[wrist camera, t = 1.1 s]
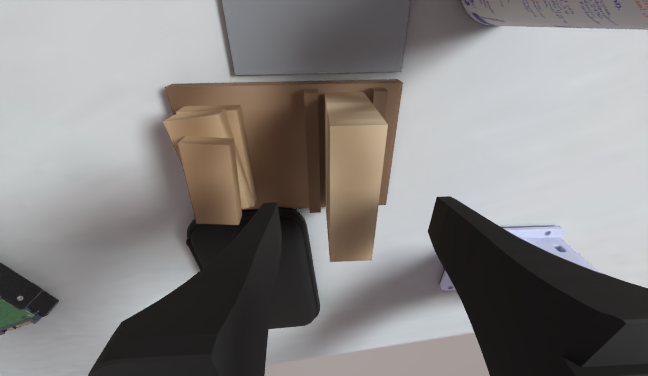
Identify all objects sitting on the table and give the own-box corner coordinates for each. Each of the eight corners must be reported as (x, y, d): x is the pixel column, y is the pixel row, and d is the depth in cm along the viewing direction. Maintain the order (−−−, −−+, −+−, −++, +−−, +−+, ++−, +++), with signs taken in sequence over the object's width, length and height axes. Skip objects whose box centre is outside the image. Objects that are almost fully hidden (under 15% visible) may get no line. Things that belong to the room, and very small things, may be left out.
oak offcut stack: (240, 102, 16) (225, 120, 13) (257, 197, 20) (248, 227, 17) (180, 103, 16) (151, 121, 13) (208, 198, 20) (190, 229, 17)
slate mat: (416, -60, 13) (418, -62, 13) (399, 70, 16) (401, 71, 16) (213, -59, 13) (211, -61, 13) (236, 73, 16) (235, 75, 16)
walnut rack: (398, 79, 17) (407, 85, 15) (382, 197, 21) (389, 212, 20) (172, 83, 16) (156, 91, 15) (208, 203, 21) (199, 218, 19)
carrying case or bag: (174, 207, 22) (226, 313, 30) (155, 232, 19) (218, 341, 27) (303, 194, 22) (321, 304, 29) (302, 218, 19) (322, 331, 27)
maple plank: (363, 92, 16) (388, 124, 11) (356, 200, 20) (371, 260, 15) (324, 92, 16) (330, 126, 11) (325, 201, 20) (330, 261, 15)
